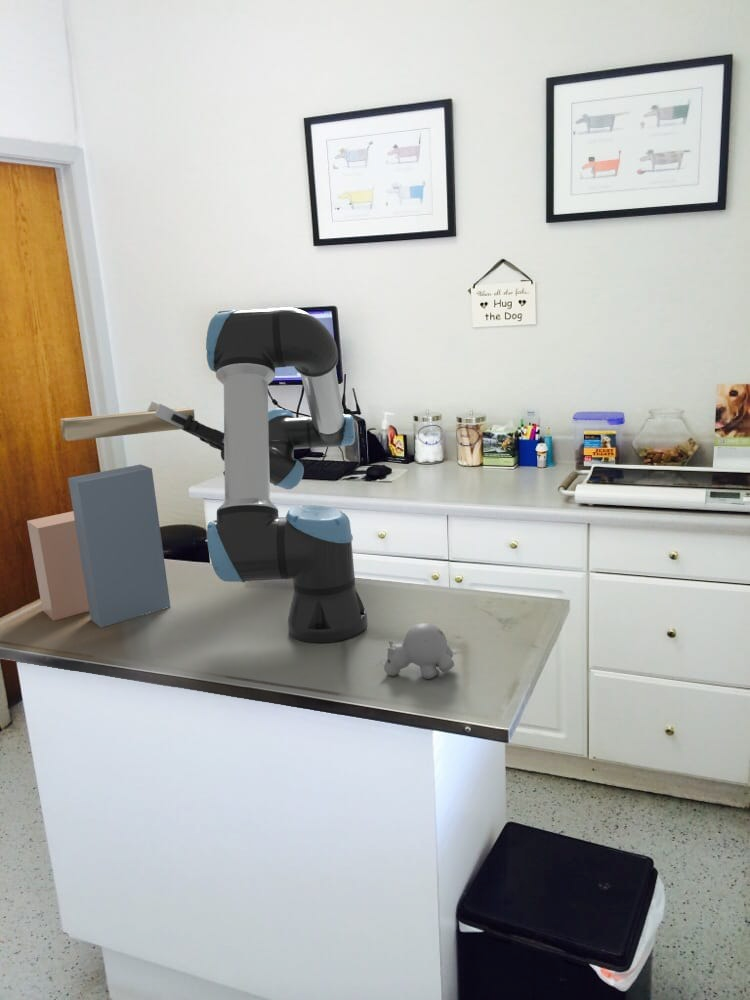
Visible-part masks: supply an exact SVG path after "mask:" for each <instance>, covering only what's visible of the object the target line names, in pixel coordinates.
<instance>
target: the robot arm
mask: <svg viewBox="0 0 750 1000" xmlns="http://www.w3.org/2000/svg"><path fill="white" fill-rule="evenodd" d="M207 327H208V328H207V331H206V338H205V339H206V342H205V345H206V346H205V349H206V361H207V365H208V368H209V369H210V370H211V371H212V372H214V373H215V378H216V380H217V381H219V382H220V383H221V384H222V385H223V431H221V430H218V429H215V428H213V427H210V426H206V425H205V424H202V423H200V422H199V421H198V420H195V421H194V420H192V419H193V416H191V415H189V417H188V419H187V417H186V416H184V415H182V414H180V413H178V412H176V411H174V410H172V409H173V408H170V407H168V406H165V405H163V404H162V403H156V402H154V401H151V403H150V404H149V406H148V408H147V410H146V411H153V410H156V412H155V416H157V417H159V418H161V419H163V420H165V421H167V422H169V423H171V424H173V425H175V426H178V427H180V428H182V427H183V426H184V429H181V430H182V431H184V432H186V433H188V434H190V435H191V436H195V437H196V438H198V439H199V441H201V442H204V443H205V444H208V445H209V447H211V448H214V449H216V450H219V451H220V458H221V460H222V461H223V462H224V502H223V503H222V504H221V505H220V506H219V507H218V508H217V509H216V519H213V520H212V521H209V522H207V525H206V527H207V529H206V541H207V542H206V543H207V548H208V550H207V551H208V554H209V559H210V562H211V565H212V568H213V571H214V573H215V575H216V576H217V577H218V578H219V579H220V580H221V581H223V582H228V583H229V582H231V583H232V582H241V583H246V582H252V581H253V582H254V581H255V582H256V581H272V580H273V581H274V580H275V581H276V580H291V579H292V581H293V590H294V591H293V596H292V601H291V605H290V610H289V615H288V618H287V624H288V625H287V628H288V633H289V634H290V636H292V638H295V639H296V640H299V641H303V642H307V643H318V644H322V643H323V644H324V643H334V642H339V641H343V640H348V639H350V638H353V636H354V637H356V636H358V635H360V634H362V633H363V632H364V631H365V630H366V628H367V626H368V615H367V611H366V608H365V605H364V603H363V601H362V598H361V596H360V594H359V592H358V589H357V586H356V579H355V578H356V577H355V566H354V554H353V545H352V544H353V543H352V542H353V539H354V537H353V535H352V529H351V522H350V518H349V517H348V515H347V514H346V513H344V512H343V511H342V510H340V509H337V508H335V507H330V506H325V505H324V506H323V505H302V506H295V507H292V508H290V509H289V510H288V511H287V513H286V516H283V517H282V516H281V517H279V509H278V507H277V506H276V505H275V504H274V503H273V502H272V501H271V485H270V484H272V485H273V486H275V487H279V488H282V489H284V490H288V491H290V490H293V489H294V488H295V487H297V486H298V485H299V484H300V482H301V481H302V479H303V476H304V473H305V472H304V471H305V468H304V465H303V463H302V462H301V461H299V460H298V459H297V458H294V456H295V455H294V451H295V450H300V449H315V448H318V449H319V448H333V447H335V448H336V447H337V448H340V447H345V446H352V445H354V444H355V439H356V434H355V433H356V432H355V431H356V429H355V420H354V416H353V415H352V414H345V413H344V410H343V404H342V397H341V391H340V387H339V386H340V385H339V380H338V375H337V373H338V372H337V369H336V366H337V365H338V362H339V350H338V346H337V343H336V341H335V338H334V336H333V335H332V334H331V332H330V331H329V329H328V328H327V327H326V325H325V324H323V322H321V321H320V320H319V319H318V318H316V317H315V316H313V315H312V314H310V313H309V312H306V311H304V310H302V309H299V308H296V307H295V308H294V307H289V306H285V307H284V306H283V307H272V308H261V309H245V310H244V309H243V310H238V309H233V310H230V311H223V312H218V313H217V312H216V314H214V316H213V317H212V318H211V319H210V320H209V324H208V326H207ZM286 367H293V368H294V369H295V371H296V372H297V373H298V374H300V377H301V381H302V386H303V390H304V394H305V397H306V401H307V406H308V410H309V414H310V416H304V417H303V416H300V417H299V416H298V417H295V415H294V414H293V412H292V411H290V410H288V409H283V408H282V407H281V408H280V407H279V408H273V409H271V410H269V390H268V388H269V387H268V386H269V384H271V383H272V382H273V381H274V380H275V378H276V368H277V369H278V368H279V369H280V368H286ZM186 419H187V420H186ZM364 629H365V630H364ZM363 630H364V631H363Z"/></svg>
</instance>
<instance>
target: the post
mask: <svg viewBox="0 0 750 1000" xmlns="http://www.w3.org/2000/svg"><path fill="white" fill-rule="evenodd" d="M67 481H68V486H69V492H70V493H69V494H70V499H71V505H72V511H73V513H74V519H75V525H76V531H77V537H78V544H79V550H80V556H81V562H82V569H83V575H84V581H85V587H86V593H87V600H88V606H89V611H88V612H89V617H90V620H91V621H92V622H93V623H94V624H96V625H97V626H98V627H99V628H104V627H108V626H110V625H114V624H117V623H122V622H124V621H128V620H131V618H132V619H135V618H138V617H137V616H139V617H141V616H140V615H142V614H145V615H147V614H146V613H149V612H152V613H154V612H153V611H156V610H159V611H161V610H160V609H163V608H166V607H169V608H171V600H170V593H169V586H168V580H167V571H166V570H167V569H166V564H165V556H164V550H163V549H164V548H163V541H162V535H161V527H160V521H159V519H160V518H159V511H158V503H157V497H156V491H155V490H156V489H155V482H154V474H153V468H151V467H149V466H147V465H143V464H142V463H141V464H135V465H131V466H125V467H119V468H115V469H109V470H103V471H99V472H93V473H88V474H83V475H78V476H77V475H76V476H71V477H68V478H67ZM166 609H167V608H166ZM163 610H164V609H163ZM156 612H157V611H156ZM149 614H150V613H149ZM142 616H143V615H142ZM134 617H135V618H134Z"/></svg>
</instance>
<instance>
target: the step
mask: <svg viewBox="0 0 750 1000" xmlns="http://www.w3.org/2000/svg"><path fill="white" fill-rule="evenodd" d="M26 522H27V523H26V524H27V529H28V534H29V540H30V546H31V551H32V552H31V553H32V556H33V563H34V564H33V565H34V569H35V575H36V580H37V586H38V592H39V597H40V602H41V609H42V611H43V613H45V614H46V615H47V616H48V617H49V618H50V619H51V620H53V622H55V621H58V620H62V619H66V618H69V617H73V616H75V615H79V614H83V613H87V612H89V606H88V600H87V593H86V587H85V581H84V575H83V569H82V562H81V556H80V550H79V544H78V537H77V531H76V525H75V519H74V513H73V510H72V511H67V512H63V513H59V514H54V515H49V516H44V517H40V518H39V517H38V518H35V519H30V520H27V521H26Z"/></svg>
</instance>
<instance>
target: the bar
mask: <svg viewBox="0 0 750 1000" xmlns="http://www.w3.org/2000/svg"><path fill="white" fill-rule="evenodd" d="M171 409H172V410H174V411H176V412H178V413H180V414H182V415H184V416H186V417H187V419H188V417H189V415H191V416H193V419H192V420H194V421H196V419H195V409H194V408H190V407H178V408H171ZM155 412H156V410H153V411H147V410H144V411H134V412H133V411H130V412H122V413H121V412H119V413H109V414H100V415H99V414H98V415H97V414H96V415H87V416H86V415H85V416H77V417H65V418H60V427H61V436H62V437H61V438H62V439H63V440H65V441H67V442H71V441H82V440H90V439H91V440H93V439H100V438H108V437H109V438H110V437H119V436H129V435H131V436H132V435H138V434H148V433H156V432H157V433H158V432H159V433H160V432H168V431H177V430H182V429H184V426H183V427H182V428H180V427H178V426H175V425H173V424H171V423H169V422H167V421H165V420H163V419H161V418H159V417H157V416H155ZM187 419H186V420H187Z"/></svg>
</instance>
